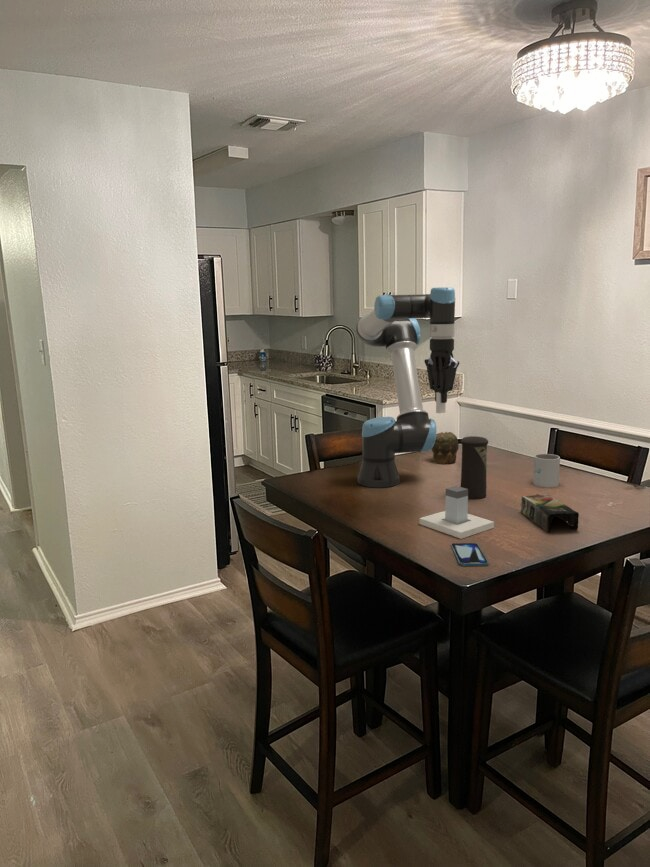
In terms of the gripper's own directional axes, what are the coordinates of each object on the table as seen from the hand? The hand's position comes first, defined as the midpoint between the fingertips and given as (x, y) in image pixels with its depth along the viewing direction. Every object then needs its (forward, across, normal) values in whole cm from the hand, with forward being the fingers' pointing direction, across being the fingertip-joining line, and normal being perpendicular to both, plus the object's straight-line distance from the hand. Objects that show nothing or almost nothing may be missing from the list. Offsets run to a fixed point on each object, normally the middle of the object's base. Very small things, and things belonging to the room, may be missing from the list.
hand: (440, 412), depth 210 cm
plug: (+29, +20, -14) cm, 38 cm away
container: (+30, +3, +13) cm, 32 cm away
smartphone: (+30, +37, -28) cm, 55 cm away
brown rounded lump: (+30, -36, +41) cm, 62 cm away
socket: (+29, +20, -14) cm, 38 cm away
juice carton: (+30, +34, +10) cm, 46 cm away
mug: (+30, +9, +44) cm, 54 cm away
